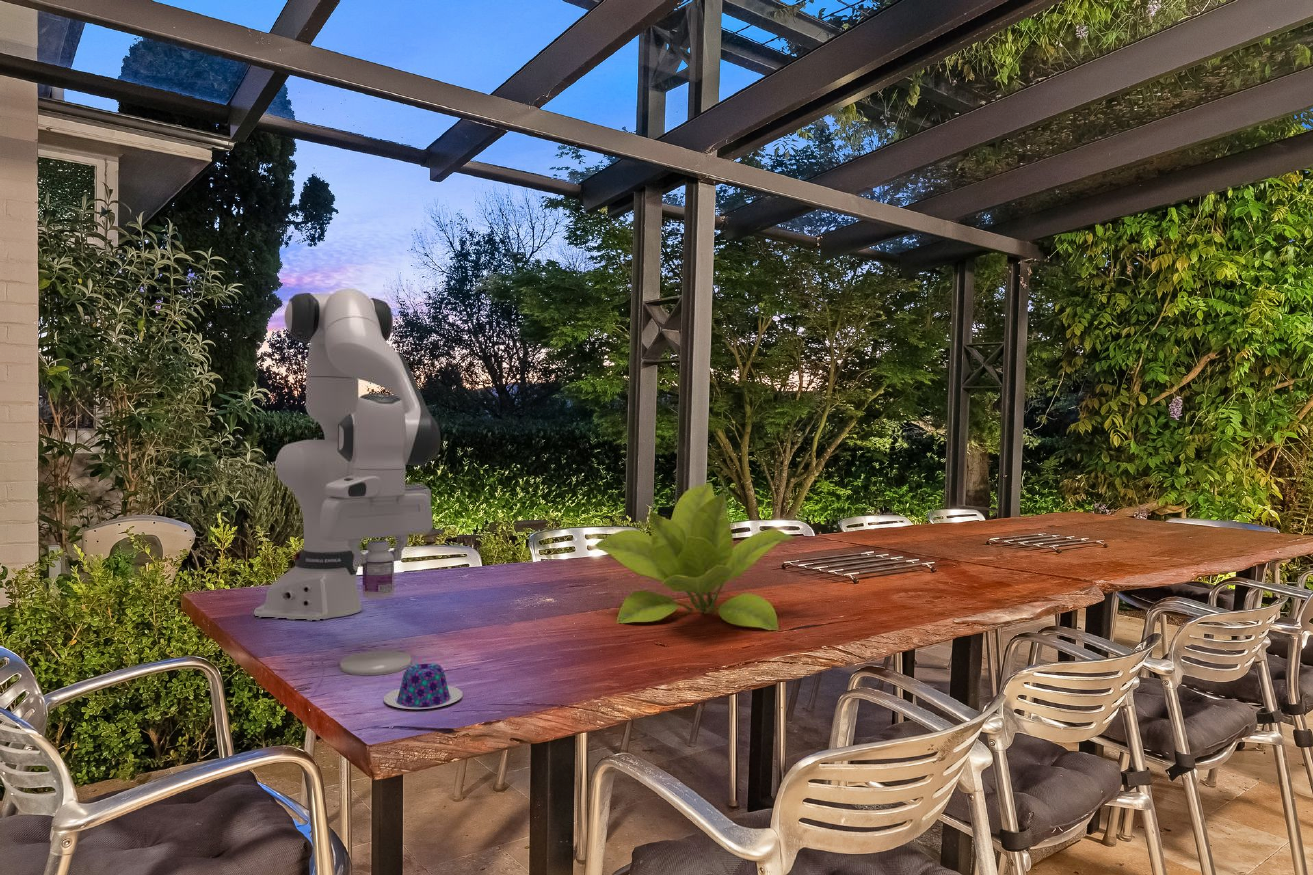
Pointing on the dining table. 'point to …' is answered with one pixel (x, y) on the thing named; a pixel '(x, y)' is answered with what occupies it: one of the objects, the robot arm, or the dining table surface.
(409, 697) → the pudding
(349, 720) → the dining table surface
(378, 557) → the pill bottle
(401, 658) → the coaster
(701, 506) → the artificial plant
